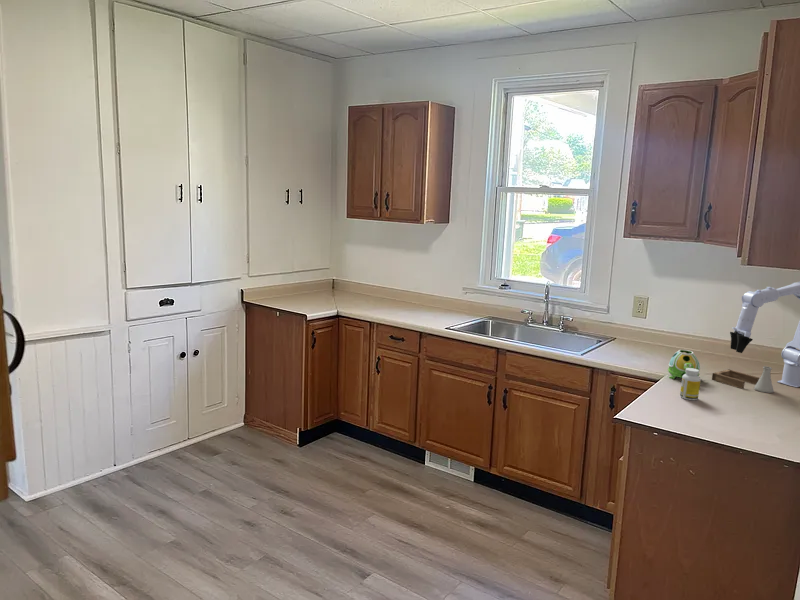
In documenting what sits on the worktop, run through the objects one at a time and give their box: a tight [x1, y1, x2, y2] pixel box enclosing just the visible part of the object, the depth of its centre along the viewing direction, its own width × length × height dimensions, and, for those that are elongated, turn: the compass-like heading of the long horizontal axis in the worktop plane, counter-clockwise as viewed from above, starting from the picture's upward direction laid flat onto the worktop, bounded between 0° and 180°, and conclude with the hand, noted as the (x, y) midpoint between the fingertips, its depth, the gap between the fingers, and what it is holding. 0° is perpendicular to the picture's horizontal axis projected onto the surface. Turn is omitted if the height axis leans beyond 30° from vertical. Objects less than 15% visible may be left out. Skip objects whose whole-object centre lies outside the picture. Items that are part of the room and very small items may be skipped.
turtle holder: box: [667, 349, 701, 380], centre depth 255 cm, size 12×18×12 cm
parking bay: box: [711, 368, 760, 390], centre depth 255 cm, size 13×13×3 cm
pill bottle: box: [679, 368, 701, 401], centre depth 231 cm, size 6×6×12 cm
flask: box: [753, 365, 775, 394], centre depth 244 cm, size 7×7×10 cm
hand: (736, 350), depth 248 cm, fingers open, 7 cm apart
